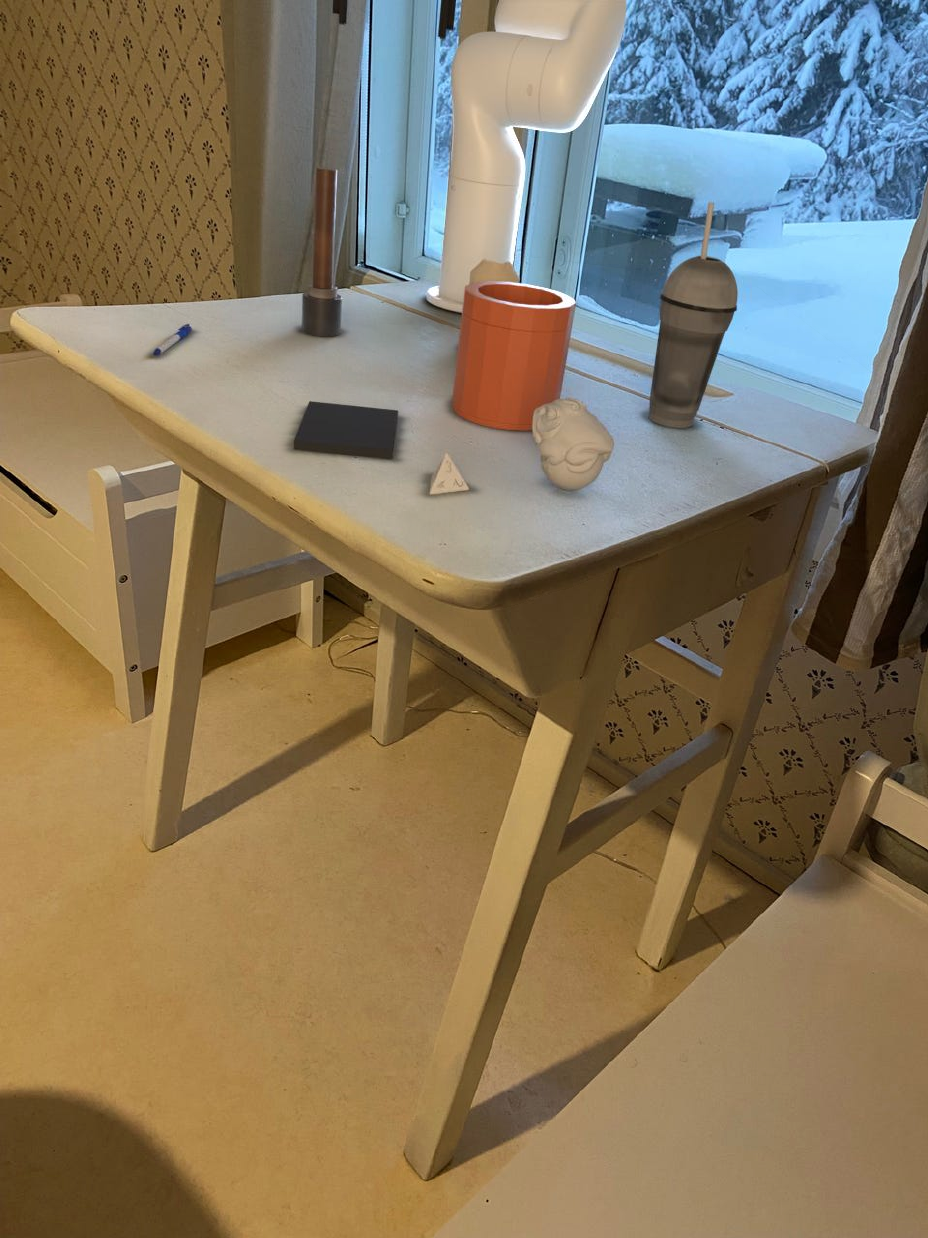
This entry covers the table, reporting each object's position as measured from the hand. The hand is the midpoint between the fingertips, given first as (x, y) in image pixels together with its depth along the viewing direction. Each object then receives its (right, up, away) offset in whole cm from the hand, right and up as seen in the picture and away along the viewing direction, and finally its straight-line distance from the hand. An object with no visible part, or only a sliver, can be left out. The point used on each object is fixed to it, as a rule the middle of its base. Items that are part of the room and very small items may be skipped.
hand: (392, 31), depth 91 cm
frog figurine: (+15, -47, -16) cm, 52 cm away
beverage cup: (+28, -38, +2) cm, 47 cm away
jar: (+11, -38, -2) cm, 39 cm away
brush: (-9, -24, +16) cm, 31 cm away
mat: (-3, -42, -11) cm, 43 cm away
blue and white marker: (-23, -29, +5) cm, 38 cm away
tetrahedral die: (+5, -48, -19) cm, 52 cm away
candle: (+9, -27, +16) cm, 33 cm away
